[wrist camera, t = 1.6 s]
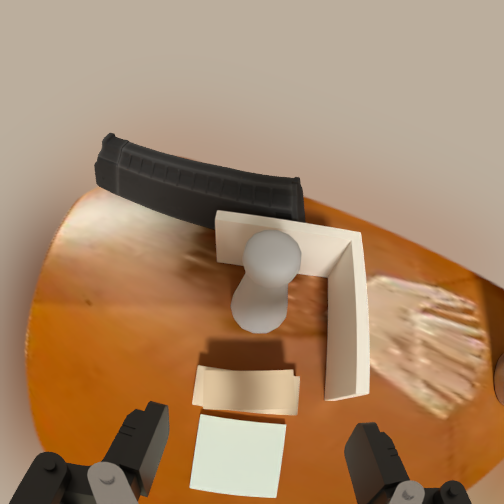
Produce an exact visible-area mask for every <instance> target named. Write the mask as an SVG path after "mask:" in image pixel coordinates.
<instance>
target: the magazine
mask: <svg viewBox="0 0 504 504" xmlns="http://www.w3.org/2000/svg"><path fill="white" fill-rule="evenodd" d="M94 166H95V175H96V182H97V185H98V186H99V187H101V188H103V189H106V190H108V191H110V192H112V193H114V194H116V195H119V196H121V197H123V198H125V199H128V200H130V201H133V202H135V203H137V204H140V205H142V206H145V207H147V208H150V209H152V210H155V211H157V212H160V213H163V214H166V215H168V216H171V217H174V218H177V219H180V220H183V221H187V222H190V223H193V224H197V225H200V226H204V227H207V228H211V229H215V217H216V213H217V210H220V211H227V212H235V213H242V214H249V215H256V216H263V217H270V218H276V219H283V220H289V221H296V222H302V223H305V211H304V199H303V190H302V187H301V184H300V178H299V177H295V178H287V177H277V176H269V175H262V174H256V173H250V172H244V171H240V170H235V169H231V168H227V167H222V166H217V165H212V164H207V163H202V162H197V161H193V160H189V159H185V158H181V157H177V156H173V155H169V154H165V153H162V152H158V151H155V150H152V149H149V148H146V147H143V146H139V145H136V144H134V143H131V142H129V141H128V140H123V139H120V138H117V137H115V134H113V133H109V134H108V135H107V136H106V137H105V138H104V139H103V141H102V149H101V151H100V153H99V155H98V159H97V162H96V163H95V165H94Z"/></svg>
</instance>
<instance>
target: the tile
mask: <svg viewBox="0 0 504 504" xmlns="http://www.w3.org/2000/svg"><path fill="white" fill-rule="evenodd" d="M285 431H286V424H273V423H261V422H251V421H243V420H235V419H228V418H221V417H215V416H209V415H203V414H200V421H199V427H198V434H197V440H196V447H195V453H194V460H193V467H192V474H191V481H190V488H193V489H198V490H204V491H210V492H216V493H223V494H231V495H241V496H252V497H270V498H276V495H277V489H278V482H279V476H280V469H281V462H282V454H283V447H284V439H285Z"/></svg>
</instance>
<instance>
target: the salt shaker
mask: <svg viewBox="0 0 504 504" xmlns="http://www.w3.org/2000/svg"><path fill="white" fill-rule="evenodd" d="M301 255H302V253H301V250H300V248H299V245H298V243H297V242H296V241H295V240H294V239H293V238H292V237H291V236H290V235H288V234H286V233H283V232H281V231H279V230H264V231H261V232H258V233H256V234H254V235H253V236H252V237H251V238H250V239H249V240H248V241H247V243H246V246H245V249H244V253H243V256H242V262H243V265H244V269H245V272H246V273H245V275H244V277H243V278H242V280H241V282H240V284H239V285H238V287H237V289H236V291H235V293H234V294H233V298H232V302H231V310H232V314H233V317H234V319H235V320H236V322H237V323H238V324H239V325H240V326H241V328H242V329H245V330H247V331H250V332H252V333H268V332H270V331H272V330H274V329H276V328H277V327H279V326H280V324H281V323H282V322H283V320H284V319H285V318H286V313H287V306H288V283H289V282H291V281H292V280H293V278H294V277H295V276H296V274H297V273H298V271H299V270H300V264H301Z"/></svg>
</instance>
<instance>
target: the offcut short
mask: <svg viewBox="0 0 504 504" xmlns="http://www.w3.org/2000/svg"><path fill="white" fill-rule="evenodd" d="M284 408H295V392H294V374H293V370H270V371H217V370H204V380H203V409H214V410H264V409H284Z"/></svg>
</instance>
